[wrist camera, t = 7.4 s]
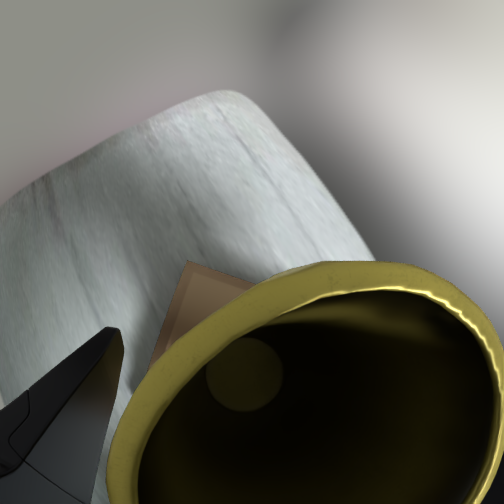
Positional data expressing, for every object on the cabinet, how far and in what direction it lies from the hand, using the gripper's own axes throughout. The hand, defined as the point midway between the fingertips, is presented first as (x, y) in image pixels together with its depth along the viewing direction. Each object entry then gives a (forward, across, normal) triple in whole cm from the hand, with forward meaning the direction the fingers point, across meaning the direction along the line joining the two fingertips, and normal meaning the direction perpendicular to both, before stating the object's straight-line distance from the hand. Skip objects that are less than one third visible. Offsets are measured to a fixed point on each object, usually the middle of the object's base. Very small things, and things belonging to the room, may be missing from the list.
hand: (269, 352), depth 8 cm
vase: (+5, 0, +7) cm, 8 cm away
